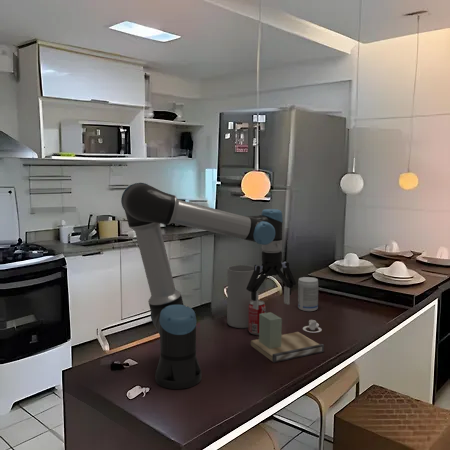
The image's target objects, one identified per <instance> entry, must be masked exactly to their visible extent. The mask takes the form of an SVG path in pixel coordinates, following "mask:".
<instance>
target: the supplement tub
mask: <svg viewBox="0 0 450 450" xmlns="http://www.w3.org/2000/svg"><path fill="white" fill-rule="evenodd" d="M297 284H298V285H297V308H298V309H299V310H300V311H302V312H303V311H304V312H313V311H316V310H318V308H319V279H318V278H316V277H310V276H303V277H299V278H298V282H297Z"/></svg>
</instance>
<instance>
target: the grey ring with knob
mask: <svg viewBox="0 0 450 450" xmlns="http://www.w3.org/2000/svg"><path fill="white" fill-rule="evenodd" d="M319 326H320V324H319V323H318V322H317V321H316V320H314V319H309V320H308V325H305V326H303V327H302V331H305V332H307V333H311V334H312V333H314V334H316V333H320V332H322V330H323V329H322V328H321V327H319ZM308 328H309V330H310V331H309V330H307V329H308ZM316 329H317V331H315V330H316Z"/></svg>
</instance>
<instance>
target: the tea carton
mask: <svg viewBox="0 0 450 450" xmlns="http://www.w3.org/2000/svg"><path fill="white" fill-rule="evenodd" d="M282 324H283V318H282V317H280V316H278V315H276V314H274V313H273V312H271V311H270V312H266V313H263V314H259V335H258V339H259V342H261V343H262V344H263V345H265V346H266V347H268V348H269V349H272V348H277V347H281V335H283V333H282V329H283V327H282V326H283V325H282Z"/></svg>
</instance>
